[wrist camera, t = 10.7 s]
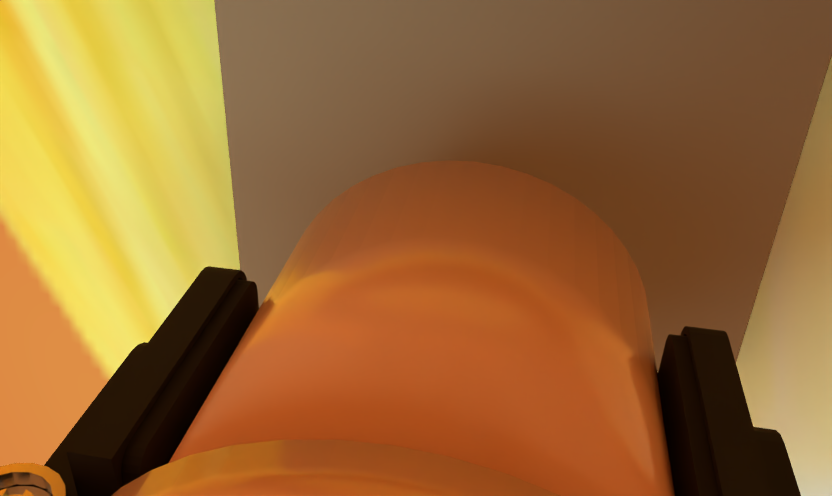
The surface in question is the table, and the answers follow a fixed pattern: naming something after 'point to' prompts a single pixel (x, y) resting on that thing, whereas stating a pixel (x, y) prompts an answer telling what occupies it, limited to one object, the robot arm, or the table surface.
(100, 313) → the table surface
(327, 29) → the mat
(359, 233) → the terracotta pot
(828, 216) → the table surface
